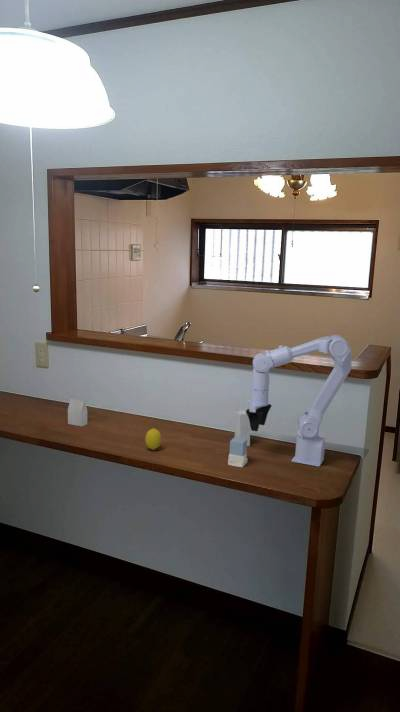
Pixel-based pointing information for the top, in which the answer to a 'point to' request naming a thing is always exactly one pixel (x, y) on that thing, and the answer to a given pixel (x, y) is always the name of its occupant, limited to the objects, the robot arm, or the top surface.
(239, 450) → the blue cube
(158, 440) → the lemon
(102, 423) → the top surface
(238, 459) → the slab top
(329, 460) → the top surface
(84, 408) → the white upright block
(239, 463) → the slab bottom
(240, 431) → the skincare box
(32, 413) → the top surface
